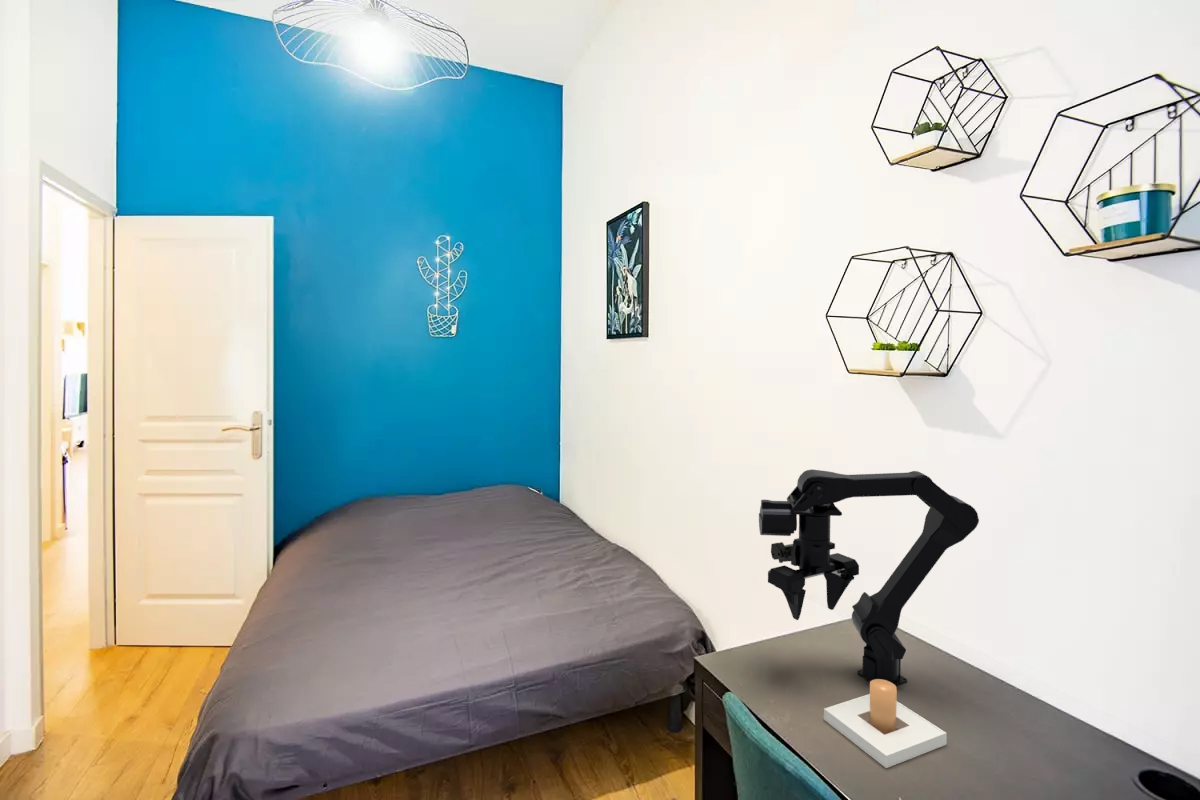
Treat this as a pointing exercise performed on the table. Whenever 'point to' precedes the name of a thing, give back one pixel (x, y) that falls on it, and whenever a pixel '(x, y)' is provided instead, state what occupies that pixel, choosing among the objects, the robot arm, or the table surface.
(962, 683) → the table surface
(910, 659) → the table surface
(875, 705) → the peg
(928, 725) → the frame
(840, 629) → the table surface
